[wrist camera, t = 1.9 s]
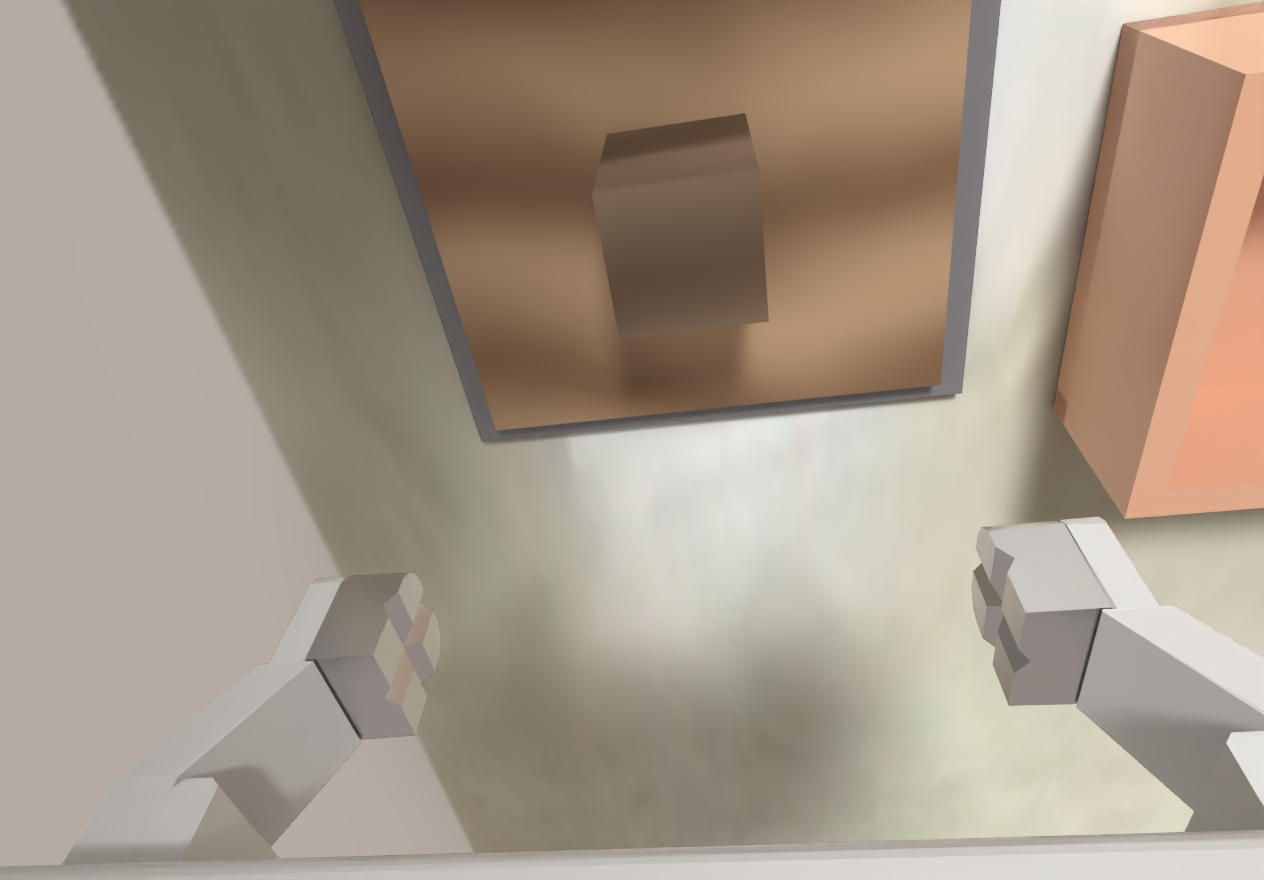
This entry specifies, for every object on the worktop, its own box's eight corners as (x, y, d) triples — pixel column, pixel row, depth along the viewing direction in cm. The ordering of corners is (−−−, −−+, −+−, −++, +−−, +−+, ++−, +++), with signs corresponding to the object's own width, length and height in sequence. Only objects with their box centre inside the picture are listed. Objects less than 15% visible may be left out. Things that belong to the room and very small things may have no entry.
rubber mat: (303, -112, 21) (296, -110, 21) (1019, -256, 19) (1026, -258, 18) (484, 434, 32) (481, 441, 31) (958, 385, 29) (961, 393, 29)
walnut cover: (347, -73, 21) (253, -49, 17) (977, -195, 19) (1072, -206, 14) (500, 418, 31) (467, 521, 26) (934, 372, 28) (984, 476, 24)
